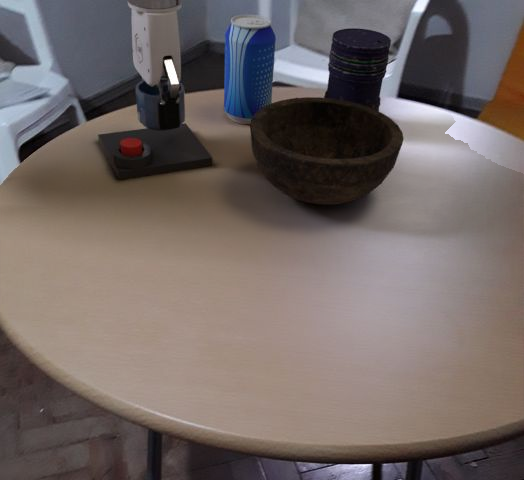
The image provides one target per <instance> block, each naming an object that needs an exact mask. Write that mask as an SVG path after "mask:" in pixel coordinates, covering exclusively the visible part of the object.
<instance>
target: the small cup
mask: <svg viewBox="0 0 524 480" xmlns="http://www.w3.org/2000/svg"><path fill="white" fill-rule="evenodd" d="M164 81H167V78H161V79H160V82H164ZM179 86H180V89H179V119H180V126H181V124H184V122H185V121H186V96H185V95H186V92H185V90H186V89H185V85H183V83H182V82H181V81H180V82H179ZM162 88H163V93H164V94H165V91H166V90H168V87H162ZM134 90H135V103H136V114H137V120H138V122H139V123H141V125H142V126H143V127H144V128H149V129H152V130H157V131H167V130H172V129H166V130H161V129H160V128H159V121H158V104H157V103H160V101H159V96H158V91H157V85H154V86H150V85H148V84H147V83H146V81H145V80H144V81H142V80H141V81H139V82H138V83H136V84H135V88H134ZM174 129H176V128H174Z"/></svg>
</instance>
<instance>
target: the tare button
mask: <svg viewBox="0 0 524 480" xmlns="http://www.w3.org/2000/svg"><path fill="white" fill-rule="evenodd" d="M120 146H121V153H122V154H124V155H127V156H134V155H139V154H141V153H142V142H141V140H139V139H136V138H126V139H123V140H122V141H121V142H120Z"/></svg>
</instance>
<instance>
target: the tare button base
mask: <svg viewBox="0 0 524 480" xmlns="http://www.w3.org/2000/svg"><path fill="white" fill-rule="evenodd" d="M97 138H98V143H99V145H100V147H101V149H102V150H103V153H104V154H105V156H106V158H107V160H108V162H109V164H110V166H111V167H112V169H113V171H114V172H115V175H116V177H117V178H118V180H119V181H120V180H127V179H132V178H140V177H146V176H153V175H159V174H167V173H172V172H178V171H186V170H191V169H197V168H198V169H199V168H203V167H211V166H213V156H212V155H211V154H210V152H209V151H208V150H207V148H206V147H205V145H203V143H202V142H201V141H200V139H199V137H197V136H196V135H195V133H194V131H192V129H191V128H190V127H189V125H188V124H187V123H184V122H183V123H182V124H181V126H179V128H176V129H172V130H167V131H157V130H152V129H149V128H146V127H144V128H138V129H131V130H123V131H115V132H107V133H99V134H97ZM126 138H136V139H139V140H141V142H142V153H141V154H139V155H134V156H127V155H124V154H122V153H121V146H120V142H121V141H122V140H123V139H126Z"/></svg>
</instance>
